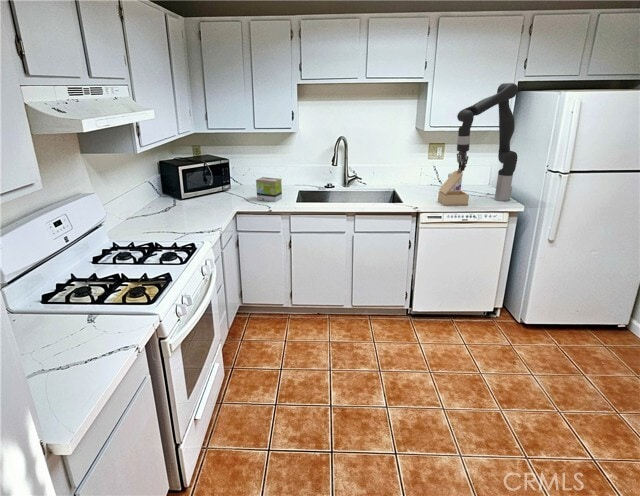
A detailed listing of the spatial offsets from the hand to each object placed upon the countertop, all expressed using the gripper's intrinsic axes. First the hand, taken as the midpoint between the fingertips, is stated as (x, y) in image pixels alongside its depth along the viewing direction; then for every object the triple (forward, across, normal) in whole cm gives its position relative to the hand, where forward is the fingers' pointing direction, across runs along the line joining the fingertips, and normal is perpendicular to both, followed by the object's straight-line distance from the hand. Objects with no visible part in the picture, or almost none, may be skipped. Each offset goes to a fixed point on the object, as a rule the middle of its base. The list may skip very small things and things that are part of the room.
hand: (461, 170), depth 267 cm
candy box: (+23, +22, -4) cm, 32 cm away
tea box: (+17, +22, +127) cm, 130 cm away
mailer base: (+22, 0, +5) cm, 23 cm away
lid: (+6, 0, +4) cm, 7 cm away
